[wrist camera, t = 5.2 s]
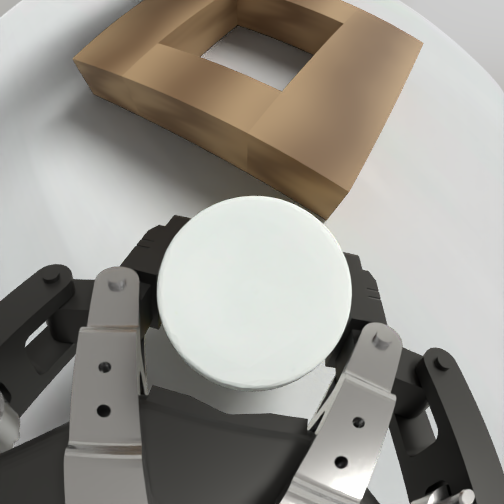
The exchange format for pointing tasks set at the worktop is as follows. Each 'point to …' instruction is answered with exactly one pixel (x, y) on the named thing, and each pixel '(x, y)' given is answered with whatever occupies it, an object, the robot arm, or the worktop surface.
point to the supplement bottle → (254, 293)
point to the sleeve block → (260, 86)
